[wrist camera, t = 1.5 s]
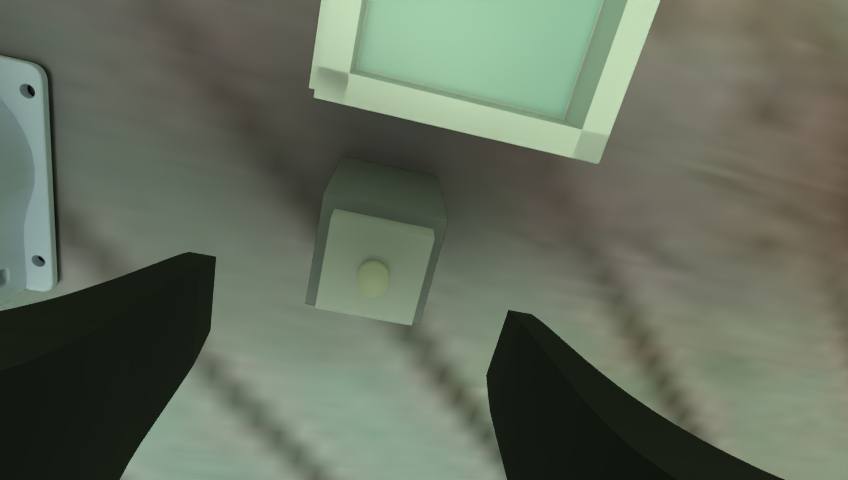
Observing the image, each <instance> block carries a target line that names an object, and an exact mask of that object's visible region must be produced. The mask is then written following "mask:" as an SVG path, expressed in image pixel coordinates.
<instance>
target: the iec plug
mask: <svg viewBox="0 0 848 480" xmlns="http://www.w3.org/2000/svg"><path fill="white" fill-rule="evenodd" d="M447 223H448V217H447V213H446V209H445V205H444V201H443V197H442V194H441V190H440V186H439V182H438V178H437V177H436V176H431V175H426V174H422V173H417V172H413V171H408V170H404V169H399V168H395V167H390V166H386V165H381V164H377V163H372V162H368V161H363V160H359V159H354V158H350V157H345V156H342V157H341V159H340V161H339V163H338V166H337V168H336V170H335V172H334V174H333V176H332V178H331V180H330V182H329V184H328V186H327V188H326V190H325V192H324V195H323V201H322V207H321V213H320V219H319V225H318V231H317V236H316V242H315V248H314V254H313V260H312V266H311V272H310V278H309V284H308V290H307V296H306V302H305V304H308V305H313V306H315V308H316V309H322V310H327V311H333V312H339V313H344V314H350V315H355V316H361V317H366V318H372V319H378V320H383V321H389V322H394V323H400V324H405V325H411V326H412V323H413V324H419V325H420V322H421V318H422V315H423V311H424V307H425V304H426V300H427V296H428V293H429V289H430V285H431V282H432V278H433V274H434V271H435V267H436V263H437V260H438V256H439V252H440V249H441V245H442V241H443V238H444V234H445V230H446V227H447Z"/></svg>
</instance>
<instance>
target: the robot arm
mask: <svg viewBox="0 0 848 480" xmlns="http://www.w3.org/2000/svg"><path fill="white" fill-rule="evenodd" d="M28 84H29V85H31V86H32V87H33V88H34V91H35V96H34V97H33V96H31V95H30V93H29V92H28V90H27V86H28ZM38 256H41V257H42V258H43V259H44V260H45V262H42V261H41V260H40V259H39V257H38ZM215 263H216V257H214V256H209V255H203V254H198V253H192V252H187V253H183V254H180V255H177V256H174V257H171V258H169V259H166V260H163V261H161V262H158V263H156V264H153V265H150V266H148V267H145V268H142V269H140V270H137V271H134V272H132V273H129V274H127V275H124V276H121V277H118V278H116V279H113V280H110V281H107V282H104V283H101V284H98V285H95V286H92V287H89V288H86V289H83V290H80V291H77V292H74V293H70V294H67V295H64V296H60V297H56V298H53V299H49V300H45V301H41V302H37V303H33V304H29V305H25V306H21V307H17V308H12V309H8V310H3V311H0V480H120V478H121V476H122V474H123V472H124V470H125V469H126V467H127V465H128V463H129V461H130V460H131V458H132V456H133V455H134V453H135V452H136V450H137V448H138V447H139V445H140V443H141V442H142V440H143V439H144V438H145V436H146V435H147V433H148V432H149V430H150V429H151V427H152V426H153V424H154V423H155V421H156V420H157V418H158V417H159V415H160V414H161V413H162V411H163V410H164V408H165V407H166V405H167V404H168V402H169V401H170V399H171V398H172V396H173V395H174V393H175V392H176V391H177V389H178V388H179V386H180V385H181V383H182V382H183V380H184V379H185V377H186V376H187V374H188V373H189V371H190V369H191V368H192V366H193V365H194V363H195V361H196V359H197V357H198V355H199V353H200V351H201V349H202V347H203V345H204V343H205V340H206V338H207V336H208V334H209V332H210V328H211V315H212V302H213V289H214V276H215ZM57 281H58V279H57V259H56V238H55V218H54V198H53V178H52V158H51V137H50V117H49V97H48V79H47V75H46V73H45V71H44V70H43V68H41V67H40V66H39V65H38V64H35V63H33V62H29V61H24V60H20V59H15V58H11V57H7V56H2V55H0V306H1V305H2V304H4V303H5V302H7V301H8V300H10V299H11V298H13V297H14V296H16V295H17V294H19V293H20V292H22V291H23V290H25V289H29V290H35V291H41V292H46V291H49V290H51V289H52V288H53V287H55V285H56V284H57ZM486 376H487V388H488V398H489V406H490V413H491V417H492V421H493V425H494V429H495V434H496V438H497V442H498V446H499V449H500V453H501V457H502V461H503V465H504V469H505V473H506V477H507V480H784V479H782V478H779V477H777V476H775V475H772V474H770V473H767V472H765V471H763V470H761V469H759V468H756V467H754V466H752V465H750V464H748V463H746V462H744V461H742V460H740V459H738V458H736V457H734V456H732V455H730V454H728V453H726V452H724V451H722V450H720V449H718V448H716V447H714V446H712V445H710V444H709V443H707V442H705V441H703V440H701V439H699V438H698V437H696V436H694V435H692V434H691V433H689V432H687V431H686V430H684V429H682V428H680V427H679V426H677V425H675V424H673V423H672V422H670V421H669V420H667V419H665V418H664V417H662V416H661V415H659V414H657V413H656V412H654V411H653V410H651V409H650V408H648V407H647V406H645V405H644V404H643V403H641V402H640V401H638V400H637V399H635V398H634V397H632V396H631V395H629V394H628V393H627V392H625V391H624V390H623V389H621V388H620V387H619V386H617V385H616V384H615V383H613V382H612V381H611V380H610V379H608V378H607V377H606V376H605V375H603V374H602V373H601V372H599V371H598V370H597V369H596V368H595V367H593V366H592V365H591V364H590V363H589V362H587V361H586V360H585V359H584V358H583V357H582V356H580V355H579V354H578V353H577V352H576V351H575V350H574V349H572V348H571V347H570V346H569V345H568V344H567V343H566V342H564V341H563V340H562V339H561V338H560V337H559V336H558V335H557V334H555V333H554V332H553V331H552V330H551V329H550V328H549V327H547V326H546V325H545V324H544V323H543V322H541V321H540V320H539V319H538V318H536V317H535V316H533V315H532V314H527V313H522V312H516V311H511V310H508V313H507V316H506V319H505V322H504V325H503V328H502V331H501V334H500V337H499V340H498V343H497V346H496V349H495V351H494V354H493V357H492V360H491V363H490V366H489V369H488V372H487V375H486Z"/></svg>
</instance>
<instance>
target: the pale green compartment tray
mask: <svg viewBox="0 0 848 480" xmlns="http://www.w3.org/2000/svg"><path fill="white" fill-rule="evenodd" d="M659 2H660V0H321V6H320V13H319V20H318V27H317V34H316V41H315V48H314V55H313V62H312V69H311V76H310V83H309V88H311V89H315V91H314V98H318V99H322V100H326V101H331V102H335V103H339V104H343V105H348V106H352V107H356V108H361V109H365V110H369V111H373V112H378V113H382V114H386V115H391V116H395V117H399V118H403V119H408V120H412V121H416V122H421V123H425V124H429V125H433V126H438V127H442V128H446V129H450V130H455V131H459V132H463V133H468V134H472V135H476V136H480V137H485V138H489V139H493V140H498V141H502V142H506V143H510V144H515V145H519V146H523V147H528V148H532V149H536V150H540V151H545V152H549V153H553V154H558V155H562V156H566V157H570V158H575V159H579V160H583V161H587V162H592V163H596V164H599V162H600V159H601V156H602V154H603V151H604V148H605V146H606V143H607V140H608V138H609V135H610V132H611V130H612V127H613V124H614V122H615V119H616V116H617V114H618V111H619V108H620V106H621V103H622V101H623V98H624V95H625V93H626V90H627V87H628V85H629V82H630V79H631V77H632V74H633V71H634V69H635V66H636V63H637V61H638V58H639V55H640V53H641V50H642V47H643V45H644V42H645V39H646V37H647V34H648V31H649V29H650V26H651V23H652V21H653V18H654V15H655V13H656V10H657V7H658V5H659Z"/></svg>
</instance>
